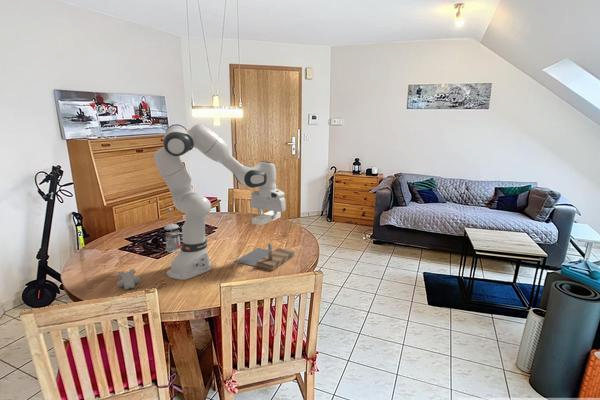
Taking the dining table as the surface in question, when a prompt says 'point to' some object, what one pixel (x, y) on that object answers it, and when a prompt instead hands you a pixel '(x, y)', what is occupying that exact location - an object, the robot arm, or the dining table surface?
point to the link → (265, 218)
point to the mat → (253, 257)
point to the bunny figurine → (128, 279)
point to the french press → (172, 238)
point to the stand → (275, 258)
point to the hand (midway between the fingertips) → (267, 217)
